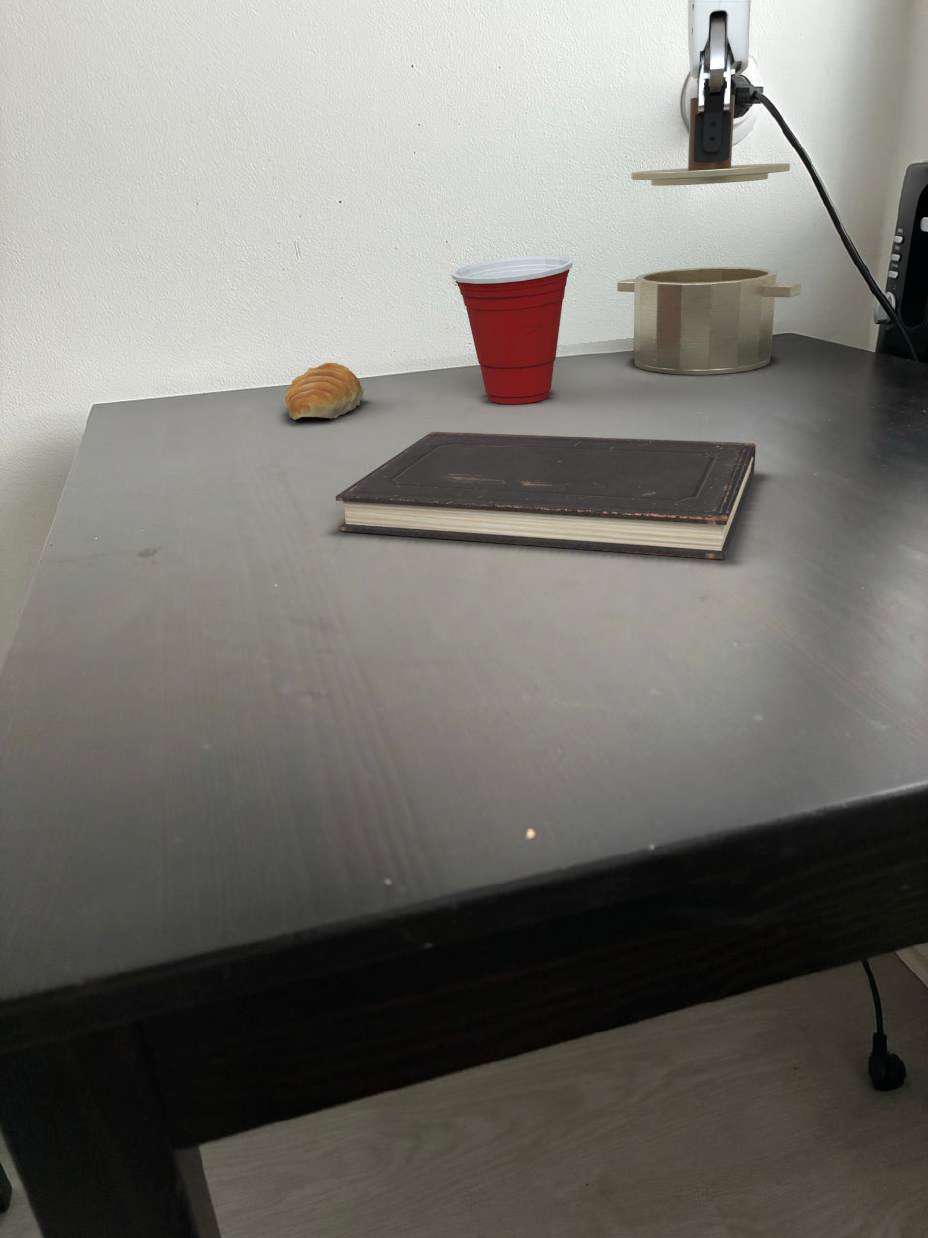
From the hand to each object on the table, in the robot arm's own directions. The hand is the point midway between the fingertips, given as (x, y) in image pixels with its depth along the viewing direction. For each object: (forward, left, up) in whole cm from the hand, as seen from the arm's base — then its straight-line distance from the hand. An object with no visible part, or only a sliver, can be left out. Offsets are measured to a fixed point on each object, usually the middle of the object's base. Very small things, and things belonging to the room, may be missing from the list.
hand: (710, 158), depth 94 cm
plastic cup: (+21, -7, -19) cm, 30 cm away
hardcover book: (+44, +14, -19) cm, 50 cm away
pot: (-1, 0, -19) cm, 19 cm away
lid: (0, 0, -1) cm, 1 cm away
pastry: (+33, -20, -19) cm, 44 cm away
